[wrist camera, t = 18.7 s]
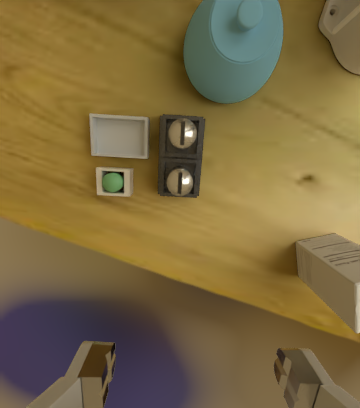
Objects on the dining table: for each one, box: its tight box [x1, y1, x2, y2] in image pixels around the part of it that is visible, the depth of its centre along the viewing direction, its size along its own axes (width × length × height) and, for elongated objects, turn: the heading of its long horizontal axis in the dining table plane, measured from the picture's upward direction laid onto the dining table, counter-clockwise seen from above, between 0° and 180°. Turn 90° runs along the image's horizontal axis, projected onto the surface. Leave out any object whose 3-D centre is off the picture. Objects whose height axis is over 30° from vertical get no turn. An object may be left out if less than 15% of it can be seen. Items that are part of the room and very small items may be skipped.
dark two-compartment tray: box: [158, 114, 205, 198], centre depth 36 cm, size 14×8×4 cm, turn 177°
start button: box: [102, 172, 124, 192], centre depth 36 cm, size 3×3×3 cm
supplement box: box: [295, 233, 360, 333], centre depth 36 cm, size 9×9×15 cm
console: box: [96, 166, 133, 197], centre depth 37 cm, size 5×6×3 cm
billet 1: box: [169, 118, 197, 150], centre depth 32 cm, size 4×4×8 cm
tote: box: [89, 114, 150, 159], centre depth 36 cm, size 7×10×2 cm
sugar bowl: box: [183, 0, 283, 104], centre depth 28 cm, size 15×15×12 cm
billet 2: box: [167, 166, 193, 196], centre depth 34 cm, size 4×4×8 cm
